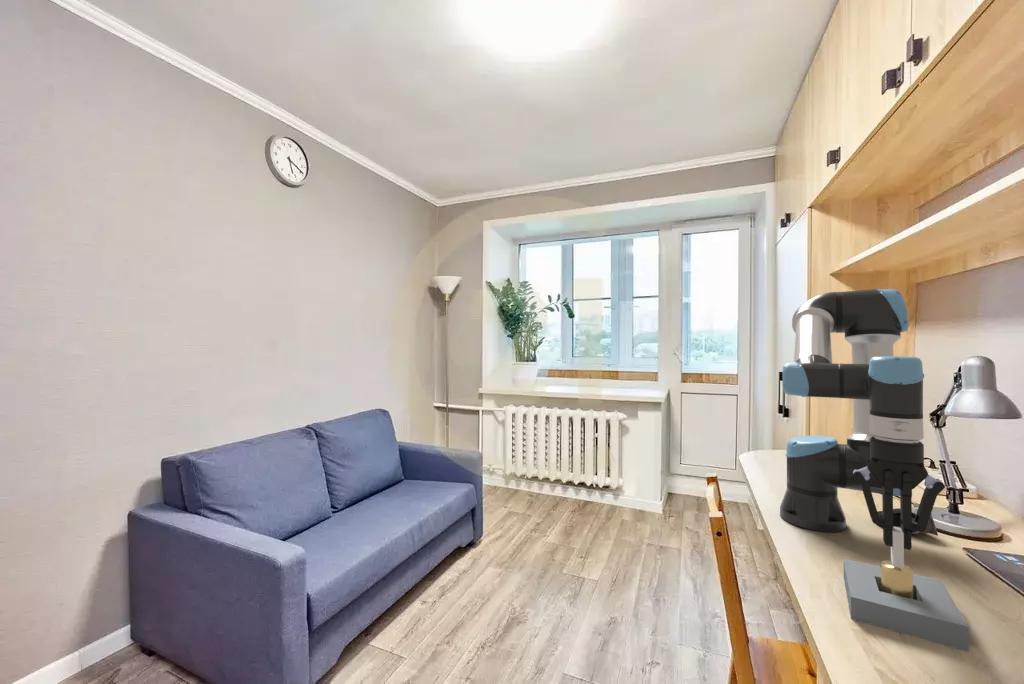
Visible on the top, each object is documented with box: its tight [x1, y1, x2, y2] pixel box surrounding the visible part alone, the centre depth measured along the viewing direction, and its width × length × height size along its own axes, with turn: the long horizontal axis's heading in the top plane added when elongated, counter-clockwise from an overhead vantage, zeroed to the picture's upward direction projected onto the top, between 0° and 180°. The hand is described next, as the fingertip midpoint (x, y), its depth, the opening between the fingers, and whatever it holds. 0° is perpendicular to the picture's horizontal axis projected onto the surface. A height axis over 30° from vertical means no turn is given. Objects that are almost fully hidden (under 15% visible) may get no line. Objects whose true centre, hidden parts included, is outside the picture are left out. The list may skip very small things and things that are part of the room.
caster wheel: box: [877, 503, 939, 537], centre depth 113 cm, size 7×11×10 cm
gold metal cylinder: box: [880, 560, 914, 599], centre depth 80 cm, size 4×4×8 cm
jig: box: [842, 558, 970, 652], centre depth 80 cm, size 16×15×4 cm
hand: (897, 564), depth 80 cm, fingers closed
